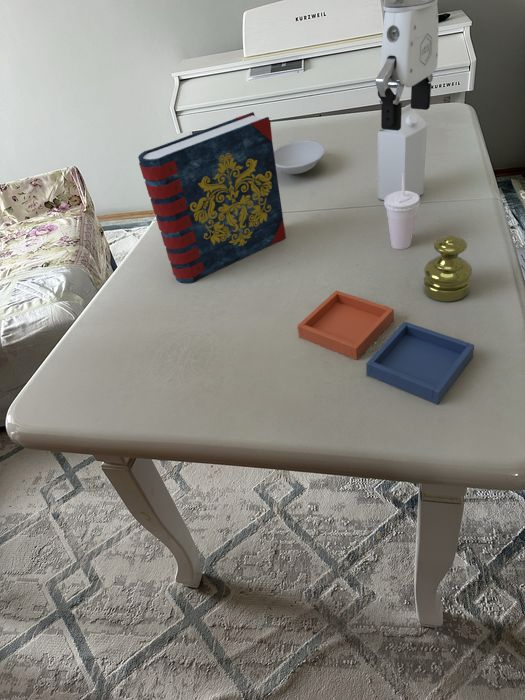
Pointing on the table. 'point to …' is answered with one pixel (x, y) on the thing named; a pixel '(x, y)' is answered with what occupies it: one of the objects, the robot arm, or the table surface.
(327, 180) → the table surface
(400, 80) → the robot arm
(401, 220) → the smoothie
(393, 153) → the milk carton
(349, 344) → the terracotta tray
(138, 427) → the table surface
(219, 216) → the book
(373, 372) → the blue tray
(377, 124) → the table surface
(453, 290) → the brass weight
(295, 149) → the dish
